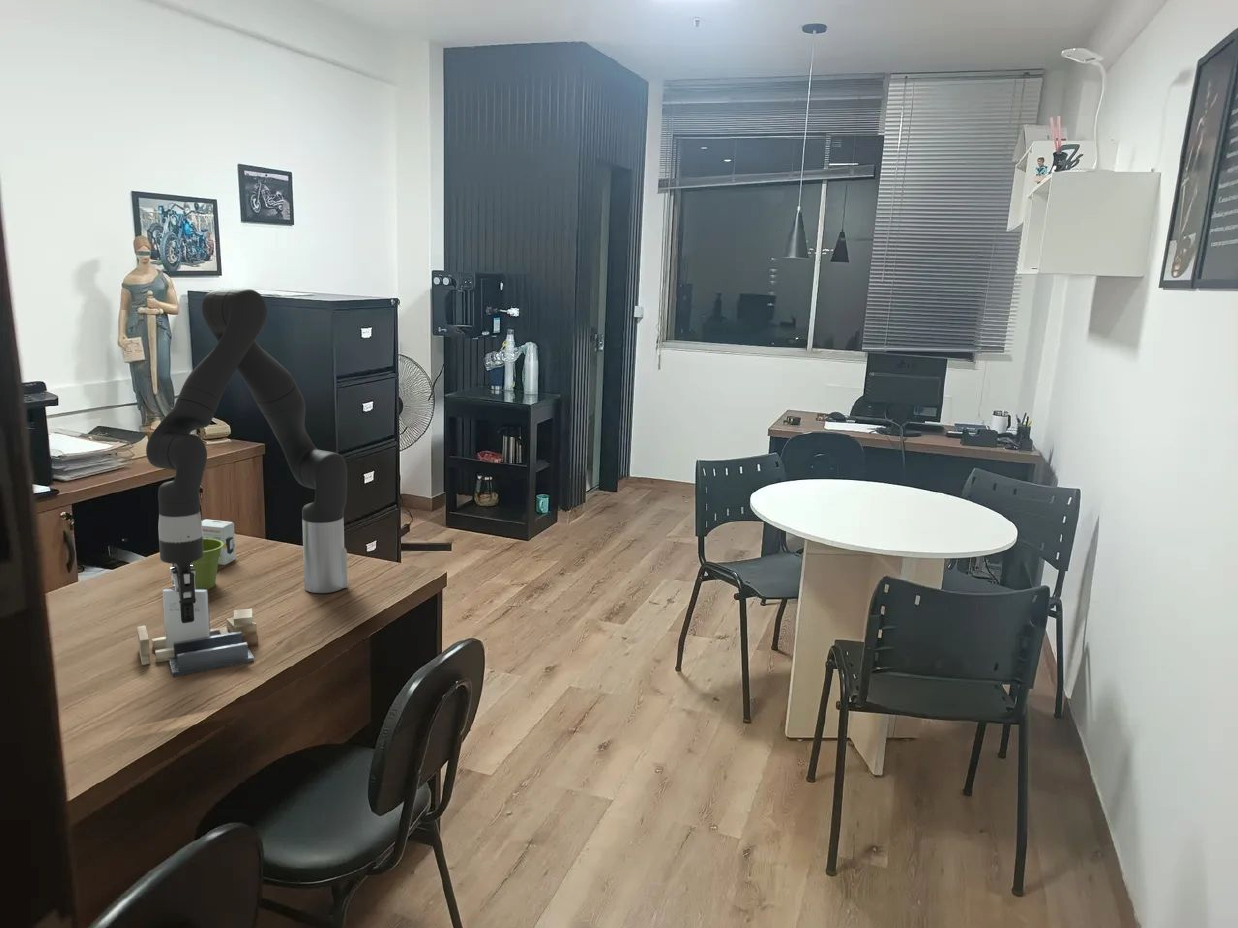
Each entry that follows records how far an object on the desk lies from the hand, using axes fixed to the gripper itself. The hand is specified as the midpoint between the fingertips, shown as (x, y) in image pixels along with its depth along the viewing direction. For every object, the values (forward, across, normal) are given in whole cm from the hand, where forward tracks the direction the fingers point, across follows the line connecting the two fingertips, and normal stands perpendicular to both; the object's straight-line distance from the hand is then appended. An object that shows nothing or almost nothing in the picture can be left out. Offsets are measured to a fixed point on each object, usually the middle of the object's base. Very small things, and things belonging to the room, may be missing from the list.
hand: (185, 614), depth 167 cm
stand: (+7, -8, -3) cm, 11 cm away
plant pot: (+7, +34, -6) cm, 35 cm away
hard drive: (+8, 0, 0) cm, 8 cm away
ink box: (+7, +50, -12) cm, 52 cm away
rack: (+7, 0, 0) cm, 7 cm away
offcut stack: (+7, 0, -10) cm, 13 cm away
